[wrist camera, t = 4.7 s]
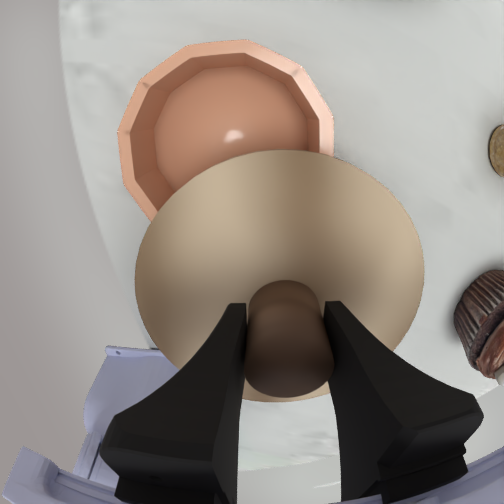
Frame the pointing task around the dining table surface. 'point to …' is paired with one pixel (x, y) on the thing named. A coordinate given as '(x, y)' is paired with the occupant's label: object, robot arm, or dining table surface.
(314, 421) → the dining table surface
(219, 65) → the bowl
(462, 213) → the dining table surface
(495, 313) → the cupcake
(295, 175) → the lid
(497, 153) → the sprinkles bottle
